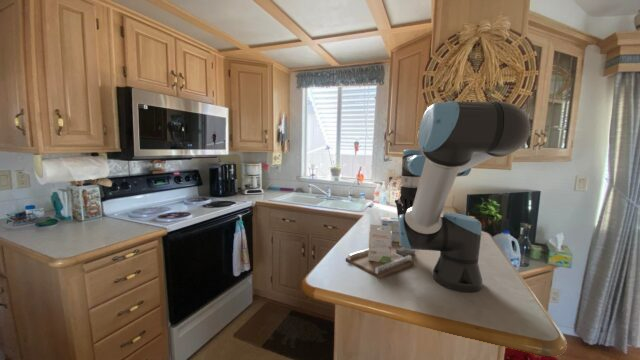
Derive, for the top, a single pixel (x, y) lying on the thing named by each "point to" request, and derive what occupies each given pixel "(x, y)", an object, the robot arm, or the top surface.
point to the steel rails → (382, 267)
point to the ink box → (380, 243)
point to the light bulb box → (394, 226)
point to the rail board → (371, 265)
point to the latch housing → (405, 251)
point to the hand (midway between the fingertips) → (406, 239)
